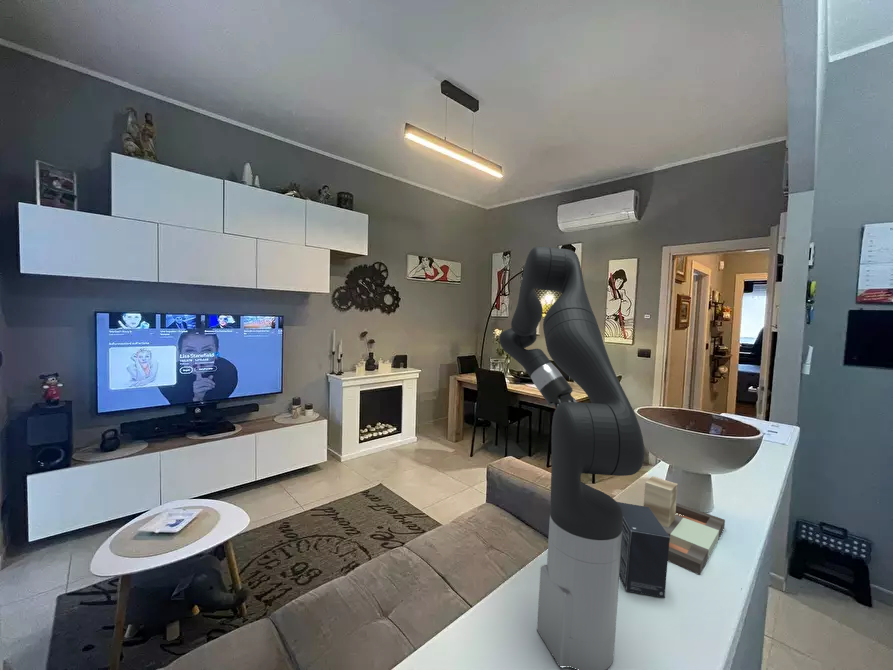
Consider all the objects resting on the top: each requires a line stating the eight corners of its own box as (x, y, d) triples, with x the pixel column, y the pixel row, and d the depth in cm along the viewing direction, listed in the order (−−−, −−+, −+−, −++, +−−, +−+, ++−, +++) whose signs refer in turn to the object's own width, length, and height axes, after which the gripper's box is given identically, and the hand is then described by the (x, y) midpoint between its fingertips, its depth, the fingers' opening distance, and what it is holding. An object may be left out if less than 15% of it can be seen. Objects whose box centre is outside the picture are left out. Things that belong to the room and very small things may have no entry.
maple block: (668, 527, 78) (671, 490, 77) (642, 517, 81) (645, 482, 81) (675, 519, 81) (677, 483, 81) (650, 510, 85) (652, 476, 84)
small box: (668, 600, 60) (672, 537, 59) (625, 592, 61) (629, 530, 60) (646, 559, 70) (650, 505, 69) (610, 553, 71) (613, 500, 71)
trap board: (699, 575, 66) (700, 564, 66) (624, 541, 75) (624, 531, 75) (724, 528, 82) (725, 519, 82) (659, 505, 91) (660, 497, 91)
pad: (707, 559, 70) (708, 549, 70) (669, 543, 75) (670, 534, 75) (718, 539, 77) (719, 530, 77) (682, 526, 82) (683, 517, 82)
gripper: (547, 377, 93) (591, 437, 85) (572, 373, 103) (614, 427, 94) (528, 394, 97) (568, 453, 89) (554, 389, 107) (592, 442, 98)
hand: (592, 439), depth 92 cm, fingers closed
